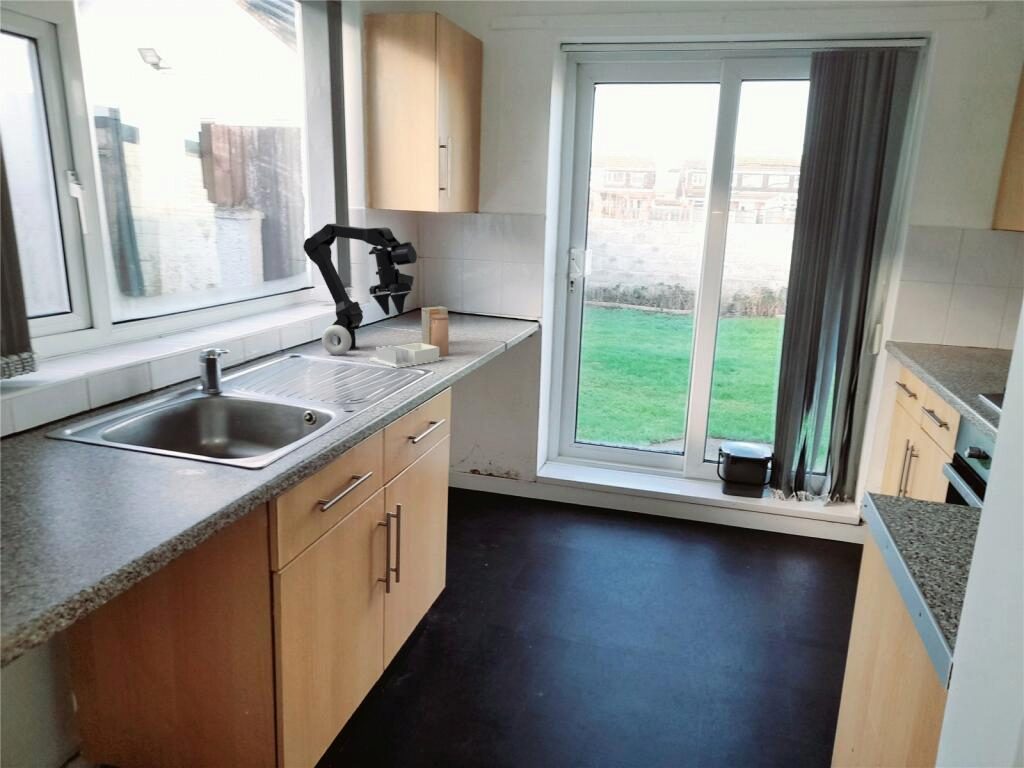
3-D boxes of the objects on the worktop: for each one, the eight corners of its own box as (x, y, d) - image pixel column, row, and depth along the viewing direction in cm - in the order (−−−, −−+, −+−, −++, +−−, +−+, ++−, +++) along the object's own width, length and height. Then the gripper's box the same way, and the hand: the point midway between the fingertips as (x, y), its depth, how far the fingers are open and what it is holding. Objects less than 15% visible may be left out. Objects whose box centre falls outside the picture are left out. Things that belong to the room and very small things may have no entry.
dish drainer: (369, 361, 226) (369, 345, 224) (415, 353, 238) (414, 338, 237) (396, 368, 216) (396, 352, 215) (442, 360, 229) (442, 345, 227)
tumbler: (428, 354, 237) (427, 315, 233) (441, 352, 241) (441, 314, 237) (439, 357, 233) (438, 317, 230) (452, 355, 237) (452, 316, 234)
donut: (320, 355, 232) (319, 325, 230) (325, 353, 235) (323, 323, 233) (349, 357, 231) (348, 326, 228) (353, 355, 234) (352, 324, 231)
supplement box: (429, 346, 249) (428, 309, 246) (421, 344, 253) (420, 307, 250) (448, 343, 255) (448, 307, 251) (440, 341, 258) (440, 305, 255)
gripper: (422, 262, 228) (429, 310, 231) (394, 265, 243) (402, 311, 246) (391, 266, 221) (399, 316, 224) (365, 269, 236) (373, 316, 239)
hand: (394, 314), depth 234 cm, fingers open, 9 cm apart
